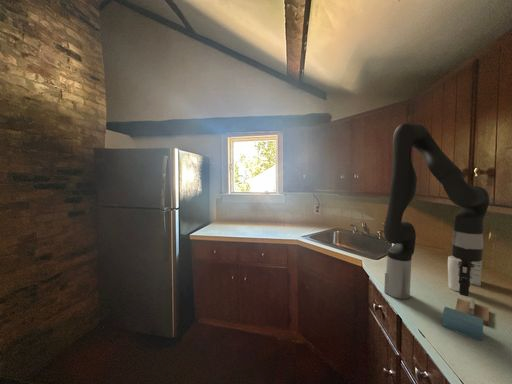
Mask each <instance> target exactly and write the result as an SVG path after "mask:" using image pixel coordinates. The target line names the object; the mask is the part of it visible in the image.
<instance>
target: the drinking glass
mask: <svg viewBox="0 0 512 384" xmlns="http://www.w3.org/2000/svg"><path fill="white" fill-rule="evenodd" d="M459 261H461V260H460V259H457V258H455V257H453V256H452V255H448V256H447V279H448V284H447V287H448V288H449V289H450V290H452V291H454V292H459V289H460V284H459V282H458V281H459V276H458V263H459Z"/></svg>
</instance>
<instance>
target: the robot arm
mask: <svg viewBox="0 0 512 384" xmlns="http://www.w3.org/2000/svg"><path fill="white" fill-rule="evenodd" d="M393 132H394V133H393V137H392V168H391V179H390V187H389V188H390V189H389V199H388V207H387V210H386V212H387V213H386V217H385V220H384V221H385V222H384V227H383V236H384V239H385V240H386V241H387V242H388V243H390V244H394V245H392V246H391V247H389V248H388V249H387V251H386V252H387V253H386V271H385V272H384V289H383V290H384V291H383V293H386V294H388V295H389V296H390V297H392V298H395V299H397V300H398V299H399V300H407V299H410V297H411V282H412V280H411V278H412V261H413V260H412V257H413V255H414V254H415V253H414V252H415V247H416V237H417V235H416V234H417V233H416V229H415V227H414V225H413V224H412V223H410V222H408V221H402V219H403V215H404V213H405V211H406V209H407V208H408V207H409V205H410V204H411V202H412V201H413V199H414V198H415V196H416V192H417V186H418V185H417V184H418V183H417V182H418V177H417V176H418V175H417V173H416V170H415V168H414V165H413V162H412V151H413V148H414V149H415V150H417V151H418V152H419V153H420V154H421V155H422V156H423V158H424V159H425V163H426V166H427V168H428V170H429V172H430V173H431V175H433V177H435V179H436V180H437V181H438V182H439V183H440V184H441V185H442V188H443V189H444V191H445V194H446V195H447V197H448V199H449V200H450V201H451V202H452V203H453V204H454V205H456V206H458V207H460V208H461V209H460V212H459V213H458V214H456V215H455V216H454V223H453V224H454V225H453V234H452V243H451V244H452V245H451V247H452V248H451V256H453V257H455V258H457V259H460V260H461V261H459V263H458V276H459V281H458V282H459V284H460V289H459V291H458V293H459V295H460V296H464V297H469V294H470V292H469V291H470V287H471V284H470V280H471V279H472V274H473V271H474V264H472V262H473V261H474V262H480V261H482V262H483V252H484V236H483V235H484V234H483V233H484V232H483V231H484V219H485V217H486V214H487V211H488V208H489V205H490V195H489V192H488V191H487V189H485V188H483V187H481V186H476V185H473V186H472V185H469V184H468V183H467V181H466V180H465V178H466V174H465V173H464V172H463V171H462V169H460V168H459V167H458V166H457V164H455V162H453V161H452V160H451V159H450V158H449V157H448V155H446V154H445V153H444V151H443V150H442V149H441V148H440V147H439V145H438V144H437V142H436V140H435V139H434V138H433V136H432V135H431V133H430V132H429V130H428V129H427V128H426V127H425V126H424V125H422V124H420V123H401V124H399V125H398V126H397V127H396V129H395V130H394V131H393Z"/></svg>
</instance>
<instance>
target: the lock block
mask: <svg viewBox="0 0 512 384" xmlns="http://www.w3.org/2000/svg"><path fill="white" fill-rule="evenodd" d="M441 324H442V326H441V327H444V328H446V329H448V330H452V331H454V332H456V331H457V333H460V334H462V335H464V334H465V335H464V336H467V337H470V338H472V339H476V340H477V341H480V342H482V341H483V334H484V333H483V332H484V324H483V319H482V318H479V317H476V316H473V315H469V314H466V313H463V312H460V311H457V310H455V309H453V308H450V307H448V306H444V309H443V312H442V323H441Z"/></svg>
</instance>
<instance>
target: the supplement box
mask: <svg viewBox="0 0 512 384" xmlns="http://www.w3.org/2000/svg"><path fill="white" fill-rule="evenodd" d="M472 264H474V271H473V274H472V279H471V280H470V285H473V286H479V287H480V286H482V285H481V283H482V269H483V260H482V261H480V262H474V261H473V262H472Z"/></svg>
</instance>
